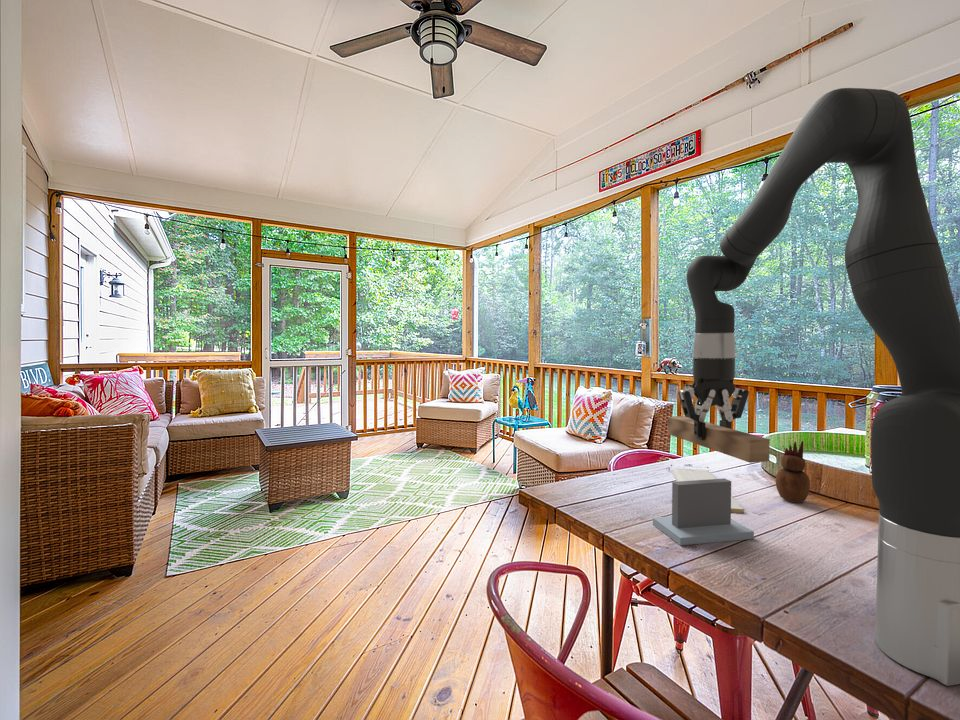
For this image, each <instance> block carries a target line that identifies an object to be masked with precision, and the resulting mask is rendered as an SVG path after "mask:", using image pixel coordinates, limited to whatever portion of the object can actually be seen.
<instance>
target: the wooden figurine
mask: <svg viewBox="0 0 960 720" xmlns="http://www.w3.org/2000/svg"><path fill="white" fill-rule="evenodd" d="M804 442H805V441H803V440H802V441H801V442H800V445H799V447H797V442H796V441H794V443H793V447H792V445H789V447H788V448H787V447H786V448H784V449H785V450H784V452H783V455H782V457H781V458H780V463H781V467H782V468H781V469H779V470H778V471H777V473H776V474H775V486H776V489H777V493H778V494H779V497H780V498H782V499H783V500H785V501H786V502H790V501H791V503H798V504H799V503H804V502H805V500H806V499H807V498H808V497H809V493H810V489H811V488H810V487H811V479H810V477H809V475H808V474H807V473H806V472H805V471H804V470H805V468H806V460H805V459H804Z"/></svg>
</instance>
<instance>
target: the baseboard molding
mask: <svg viewBox="0 0 960 720" xmlns="http://www.w3.org/2000/svg"><path fill="white" fill-rule="evenodd" d="M672 466H673V467H674V465H672V464H670V467H669V466H668V467H667V471H669V472H670V473H671V474H672V476H673V478H674V480H675V482H679V481H694V480H708V479H717V478H716V477H715V475H713V473H712V472H711V471H710V470H709V466H704V468H707V469H698V468H695V469H691V468H679V467H678V468H677V467H676V468H675V469H671V467H672ZM684 467H692V464H684ZM744 511H745V510H744V508H743V507H742V506H741V504H740V503H739V502H738V501H737V500H736V499H735V498H734V497H733V496H732V495H731V513H736V512H738V514H744Z"/></svg>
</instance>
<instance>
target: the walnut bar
mask: <svg viewBox="0 0 960 720" xmlns="http://www.w3.org/2000/svg"><path fill="white" fill-rule="evenodd" d="M704 422H705V440H699V439H697V438H696V436H695V435H694V420H693V419H690V418H687V417H685V416H684V415H682V416H681V415H680V416H679V415H677V416H676V415H675V416H667V435H670V436H672V437H675V438H678V439H681V440H682V441H683V440H684V441H687V442H689V443H691V444H692V443H693V444H694V445H698V446H700V447H704V448H706V449H710V450H713V451H714V452H715V451H716V452H718V453H721V454H724V455H726V456H730V457H732V458H735V459H738V460H741V461H744V462H747V463H763V462H766V463H767V462H770V445H771V444H770V443H771V442H770V441H771V439H770V438H766V437H763V436H760V435H759V436H758V435H756V434H752V433H749V432H744V431H740V430H737V429H733V428H731V429H730V428H726V427H722V426H720V424H719V425H718V424H715V423H710V422H707V421H704Z"/></svg>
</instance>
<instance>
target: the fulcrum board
mask: <svg viewBox="0 0 960 720" xmlns="http://www.w3.org/2000/svg"><path fill="white" fill-rule="evenodd" d="M671 485H672V486H671V488H672V489H671V492H672V493H671V515H669V516H657V517H656V516H655V517H652V525H653V526H654V527H655V526H656V527H655V528H657V529H658V530H659V529H660V530H659V531H661V532H662V533H663V532H664V534H665V535H666V534H667V535H668V536H667V535H666V536H667V537H668V538H670V539H671V538H672V539H673V541H674V542H675V543H676V542H677V543H676V544H678V545H679V546H689V545H698V544H699V545H700V544H701V545H702V544H709V543H711V544H712V543H721V542H732V541H733V542H734V541H743V540H752V539H755V538H754V537H755V531H754V530H752V529H750V528H749V527H746V526H745V525H743V524H742V523H740V522H738V521H737V520H734V519H733V518H731V517H732V512H731V496H732V481H731V480H729V479H727V478H725V477H724V478H716V479H708V480H694V481H679V482H677V481H672V483H671ZM672 539H671V540H672Z"/></svg>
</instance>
